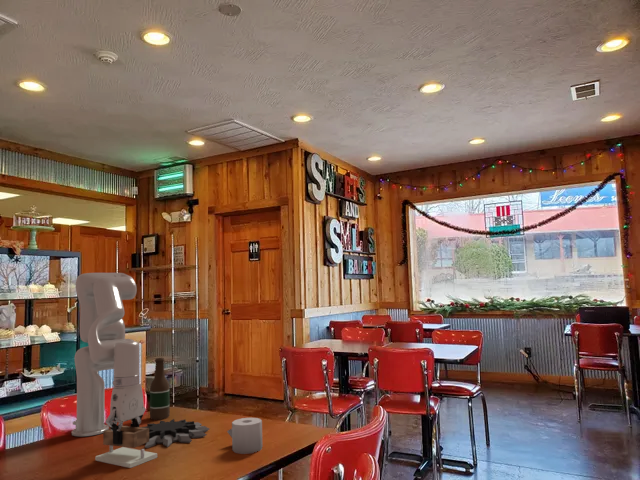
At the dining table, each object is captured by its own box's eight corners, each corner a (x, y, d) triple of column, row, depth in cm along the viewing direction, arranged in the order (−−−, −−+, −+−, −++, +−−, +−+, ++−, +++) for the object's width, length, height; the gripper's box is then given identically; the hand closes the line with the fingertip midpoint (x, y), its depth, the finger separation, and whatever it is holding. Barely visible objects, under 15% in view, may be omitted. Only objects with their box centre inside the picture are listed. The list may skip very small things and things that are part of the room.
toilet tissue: (234, 442, 166) (233, 415, 167) (267, 446, 160) (267, 419, 161) (217, 450, 158) (216, 422, 159) (251, 455, 152) (251, 426, 153)
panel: (95, 460, 153) (95, 447, 153) (122, 450, 161) (123, 439, 162) (130, 468, 145) (130, 454, 145) (157, 457, 153) (157, 445, 154)
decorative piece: (151, 414, 194) (223, 415, 188) (151, 424, 194) (224, 426, 188) (103, 437, 165) (186, 439, 159) (103, 449, 164) (187, 452, 158)
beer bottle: (173, 415, 206) (173, 356, 208) (161, 420, 199) (161, 359, 201) (158, 414, 208) (157, 356, 211) (145, 419, 201) (145, 359, 204)
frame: (103, 444, 153) (103, 431, 153) (119, 438, 159) (119, 425, 159) (134, 447, 148) (134, 434, 149) (149, 441, 154) (149, 428, 155)
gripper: (115, 387, 146) (114, 450, 144) (155, 377, 162) (155, 433, 160) (95, 386, 149) (95, 448, 147) (136, 376, 165) (136, 431, 163)
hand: (126, 440), depth 154 cm, fingers closed on frame, 6 cm apart
